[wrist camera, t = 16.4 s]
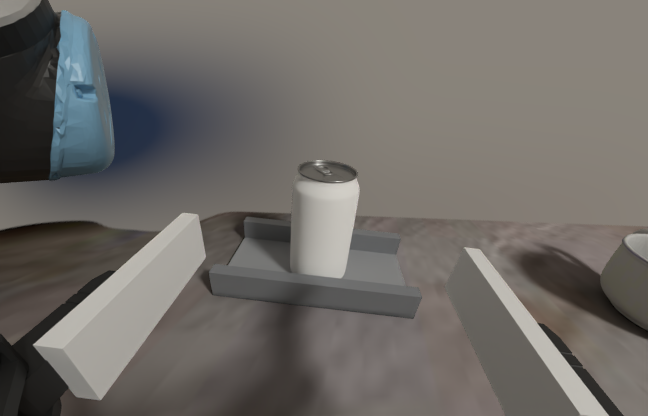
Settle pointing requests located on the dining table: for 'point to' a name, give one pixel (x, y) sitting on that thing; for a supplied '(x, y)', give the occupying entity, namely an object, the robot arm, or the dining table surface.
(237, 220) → the dining table surface
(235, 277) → the tray
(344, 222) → the can
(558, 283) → the dining table surface
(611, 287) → the teacup
